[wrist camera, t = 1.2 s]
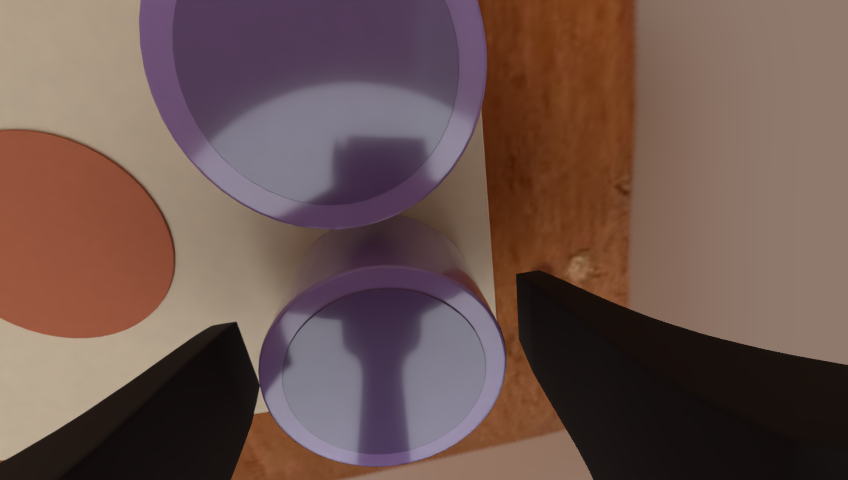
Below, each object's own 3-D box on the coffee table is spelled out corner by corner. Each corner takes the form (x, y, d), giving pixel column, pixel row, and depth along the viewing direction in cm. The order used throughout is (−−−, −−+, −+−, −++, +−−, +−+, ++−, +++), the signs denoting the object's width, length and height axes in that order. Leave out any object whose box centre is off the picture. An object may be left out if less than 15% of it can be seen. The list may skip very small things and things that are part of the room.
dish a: (402, 385, 14) (411, 498, 10) (261, 311, 12) (208, 412, 8) (503, 270, 12) (557, 348, 9) (361, 170, 11) (352, 213, 7)
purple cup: (370, 219, 11) (366, 283, 8) (191, 99, 10) (73, 106, 6) (490, 57, 10) (555, 39, 6) (307, -110, 9) (251, -267, 5)
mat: (-208, 490, 13) (-229, 505, 13) (-718, 11, 8) (-789, 6, 7) (497, 362, 14) (501, 371, 14) (461, -123, 9) (464, -135, 9)
